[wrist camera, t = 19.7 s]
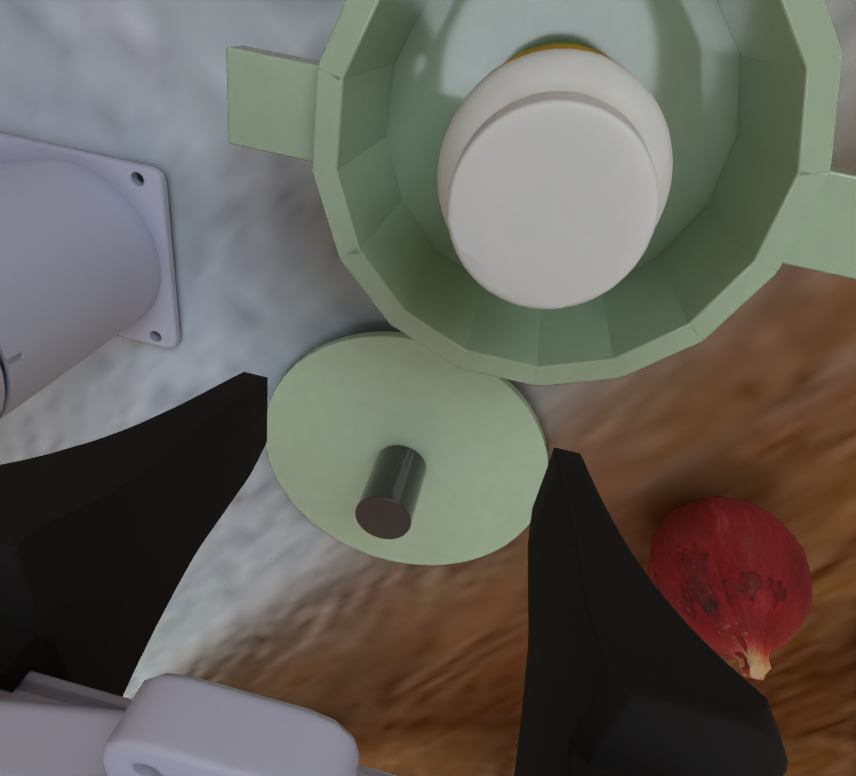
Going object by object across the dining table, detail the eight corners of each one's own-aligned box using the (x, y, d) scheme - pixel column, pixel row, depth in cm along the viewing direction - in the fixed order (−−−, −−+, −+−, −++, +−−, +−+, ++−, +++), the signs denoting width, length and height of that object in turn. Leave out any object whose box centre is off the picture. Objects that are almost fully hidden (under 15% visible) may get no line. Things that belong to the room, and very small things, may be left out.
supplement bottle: (601, 233, 21) (629, 372, 13) (454, 194, 21) (390, 306, 13) (667, 62, 18) (759, 101, 10) (494, 19, 18) (443, 21, 10)
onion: (612, 497, 27) (630, 653, 21) (727, 435, 24) (790, 592, 18) (687, 569, 29) (726, 735, 22) (804, 518, 26) (889, 691, 19)
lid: (510, 575, 31) (503, 653, 28) (271, 513, 32) (233, 580, 28) (587, 365, 24) (593, 432, 20) (275, 292, 25) (223, 343, 21)
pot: (736, 351, 22) (787, 447, 17) (293, 250, 24) (222, 312, 19) (947, -47, 16) (1131, -76, 11) (306, -162, 17) (199, -238, 12)
